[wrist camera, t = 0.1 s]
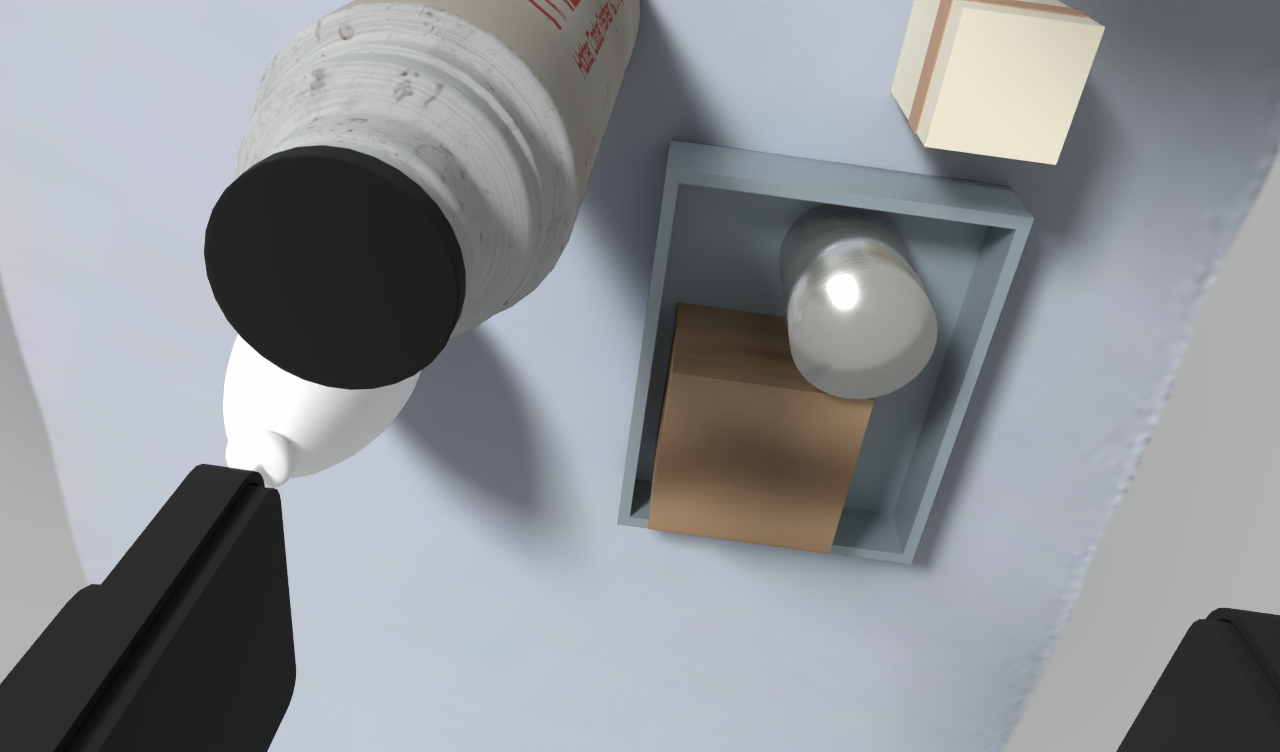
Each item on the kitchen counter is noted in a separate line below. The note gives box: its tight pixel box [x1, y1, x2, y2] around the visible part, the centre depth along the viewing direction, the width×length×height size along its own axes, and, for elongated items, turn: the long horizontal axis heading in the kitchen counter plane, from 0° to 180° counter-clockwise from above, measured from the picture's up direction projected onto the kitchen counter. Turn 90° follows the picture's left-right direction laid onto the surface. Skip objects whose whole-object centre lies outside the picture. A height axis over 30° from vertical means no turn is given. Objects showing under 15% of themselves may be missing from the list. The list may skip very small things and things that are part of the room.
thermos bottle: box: [204, 0, 641, 390], centre depth 30 cm, size 8×8×28 cm
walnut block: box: [648, 302, 874, 554], centre depth 47 cm, size 9×9×7 cm
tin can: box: [779, 203, 938, 399], centre depth 43 cm, size 6×6×8 cm
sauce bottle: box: [223, 334, 422, 488], centre depth 42 cm, size 8×8×18 cm
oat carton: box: [891, 0, 1105, 165], centre depth 38 cm, size 5×5×8 cm
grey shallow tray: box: [617, 140, 1034, 564], centre depth 48 cm, size 20×16×4 cm
